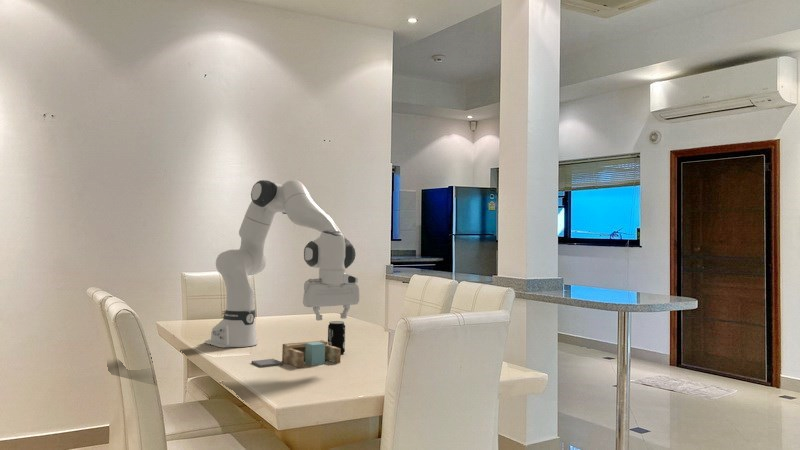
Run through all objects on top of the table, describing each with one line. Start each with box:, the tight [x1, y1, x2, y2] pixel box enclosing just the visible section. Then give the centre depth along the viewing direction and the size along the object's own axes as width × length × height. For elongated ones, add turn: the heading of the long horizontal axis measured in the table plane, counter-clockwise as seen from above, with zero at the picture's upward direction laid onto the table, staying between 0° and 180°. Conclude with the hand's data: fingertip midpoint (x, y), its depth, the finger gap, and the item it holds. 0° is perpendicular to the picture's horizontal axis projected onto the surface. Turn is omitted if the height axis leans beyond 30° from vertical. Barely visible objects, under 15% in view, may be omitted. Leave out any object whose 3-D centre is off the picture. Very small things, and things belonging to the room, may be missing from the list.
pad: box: [251, 358, 284, 368], centre depth 203 cm, size 8×8×1 cm
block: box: [304, 342, 326, 366], centre depth 206 cm, size 5×5×7 cm
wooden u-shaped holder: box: [281, 339, 342, 369], centre depth 208 cm, size 14×16×6 cm
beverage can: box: [327, 320, 346, 355], centre depth 225 cm, size 7×7×12 cm
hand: (331, 319), depth 198 cm, fingers open, 8 cm apart
